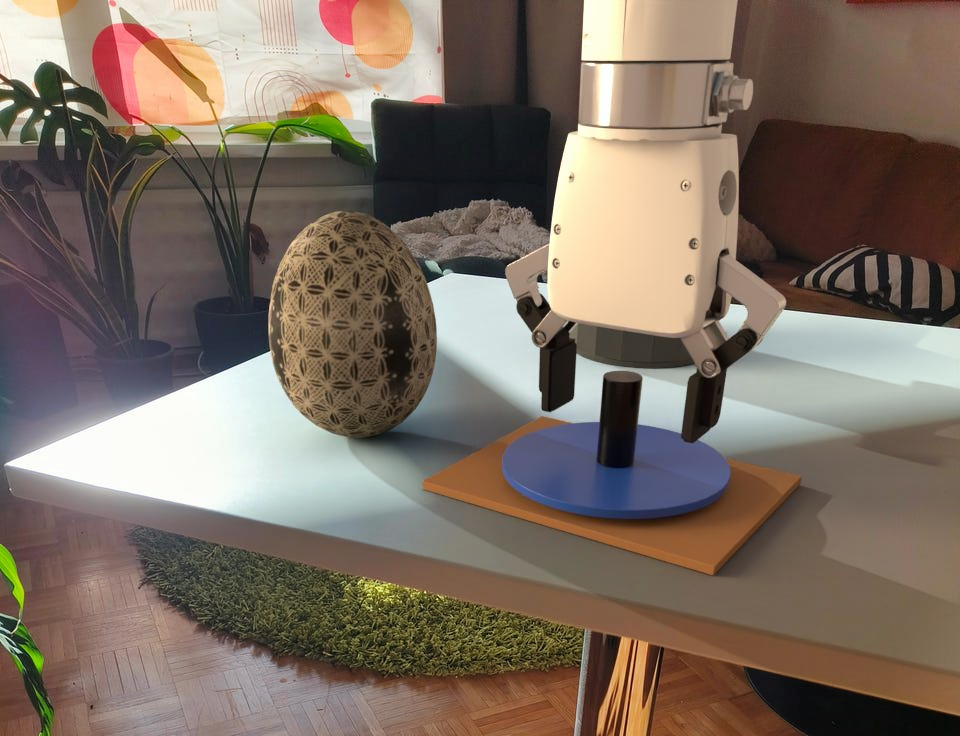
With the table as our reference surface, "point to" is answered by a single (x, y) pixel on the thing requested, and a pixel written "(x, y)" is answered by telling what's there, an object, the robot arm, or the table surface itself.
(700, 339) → the robot arm
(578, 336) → the pot
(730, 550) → the cork mat
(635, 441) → the blue lid
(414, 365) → the decorative egg
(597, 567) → the table surface
